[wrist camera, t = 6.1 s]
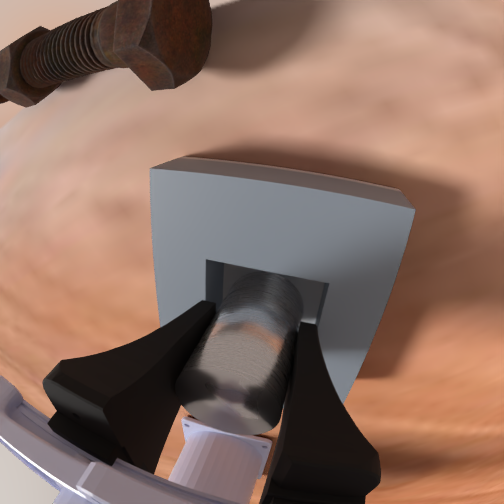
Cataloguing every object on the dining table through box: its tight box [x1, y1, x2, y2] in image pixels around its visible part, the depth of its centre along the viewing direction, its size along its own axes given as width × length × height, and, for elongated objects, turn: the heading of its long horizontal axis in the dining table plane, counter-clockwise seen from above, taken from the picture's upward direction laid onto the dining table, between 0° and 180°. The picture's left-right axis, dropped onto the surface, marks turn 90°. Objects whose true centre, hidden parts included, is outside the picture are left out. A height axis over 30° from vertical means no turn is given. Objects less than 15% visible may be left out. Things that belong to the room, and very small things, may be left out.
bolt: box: [0, 0, 212, 107], centre depth 11 cm, size 6×5×15 cm
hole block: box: [150, 156, 416, 408], centre depth 14 cm, size 12×10×3 cm
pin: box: [175, 271, 304, 435], centre depth 12 cm, size 4×4×6 cm
